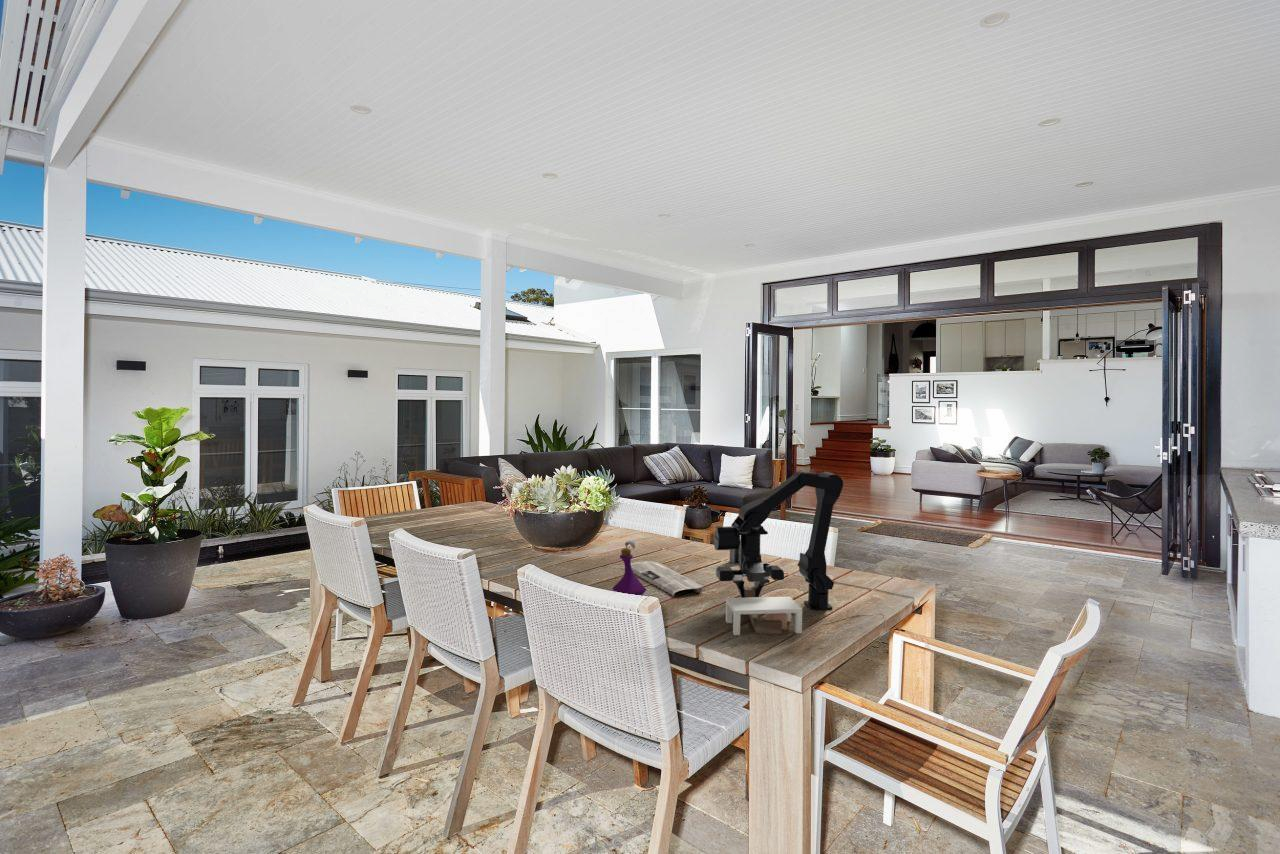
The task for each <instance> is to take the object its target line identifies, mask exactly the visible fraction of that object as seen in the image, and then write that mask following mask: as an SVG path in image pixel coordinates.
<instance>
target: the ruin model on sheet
mask: <svg viewBox="0 0 1280 854" xmlns="http://www.w3.org/2000/svg"><path fill="white" fill-rule="evenodd" d="M735 562H738V564H740V546H739V548H736V550H729V563H731V564H734V565H735Z"/></svg>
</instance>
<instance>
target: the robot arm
mask: <svg viewBox="0 0 1280 854" xmlns="http://www.w3.org/2000/svg"><path fill="white" fill-rule="evenodd" d="M804 487H809V488H815V489H814V490H815V491H814V492H815V497H816V507H815V512H814V518H813V521H812V522H813V523H812V527H811V533H810V538H809V544H808V548H807V550H806V551H805V553H803V552H800V553H799V560H798V563H797V567H798V571H799V573H800V574H801V576H802V577H804V580H805V582H806V583H808V591H807V592H808V593H807V594H808V595H807V596H808V597H807V600H804V601H803V603H804V604H805V605H806V606H807V607H808V608H809V609H810V610H833V606H832V605H831V604H830V603H829V592H830V591H829V590H833V588H834V585H835V581H833V580H832V579H831V578H830V576H828V575H827V559H826V554H825V553H826V548H827V547H826V546H827V543H828V541H827V540H828V536H829V530H830V527H831V519H832V514H833V510H834V506H835V504H836V502H837V501H838V500H839V498H840V496H841V493H842V491H843V488H844V480H843V479H842V477H841V476H840V475H838V474H834V473H832V472H829V471H822V472H820V473H815V472H808V471H807V472H806V471H802V470H797V471H795V472H794V473H793V474H792V475H791V476H790V477H788V478H787V479H786V480H784V481H783V482H782V483H781V484H779V485H777V486H776V487H775V488H773V489H772V490H771V491H769V492H768V493H767V494H765V495H764V496H763V497H760V498H758V499H755V500H752V501H750V502H748V503H746V504H744V505H742V506H741V507H740V508H739V510H738V516H736V518H735V519H734V521H733V522H732V523H731V525H729V526H723V525H716V527H715V531H714V535H713V546H714V550H715V551H730V550H736V548H739V546H740V563H738V565H739V566H738V567H739V569H732V567H731V566H727V565H724V566H717V568H716V569H715V576H716V577H717V579H718V580H719V582H732V583H733V584H735V585H736V588H737V591H738V593H739V596H740V597H739V598H745V596H744V587H745V581H744V580H743V577H746V579H747V581H748V582H749V583H754V584H753V585H754V586H753V587H754V588H755V597H760V595H761V591H762V589H763V588H764V586H765V585H767V584H768V583H769V584H770V582H771V581H770V579H769V578H771V579H772V580H773V581H783V580H784V579H785V572H784V570H783V569H782V568H781V567H780V566H778V565H773V564H772V563H771V562H767V563H766V562H763V561H762V554H761V536H762V535H768V534H769V532H768V531H767V530H765V528H764V526H763V525H762V524H763V523H764V522H765V521H766V520H767V519H768V518H769V517H770V515H771V513H772V512H773V510H774V509H776V508H778V507H779V506H780V505H782V504H783V503H784V502H785V501H787V500H788V499H789V498H791V497H792V496H794V495H795V494H796V493H797V492H799V491H800V490H801V489H803V488H804Z"/></svg>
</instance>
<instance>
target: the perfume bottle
mask: <svg viewBox="0 0 1280 854" xmlns="http://www.w3.org/2000/svg"><path fill="white" fill-rule="evenodd" d="M624 545H625V548H623V549H621V551H620V552H621V554H620V555H619V559H621V560H622V561H623V564H624V574H623V576H622V577H621V579H620V580H619V581H618V582H617V583H616V584H615V585H614V586H613V587H612V588H611V589H612V591H613V592H614V591H617V592H622V593H628V594H635V595H642V596H643V595H644V593H646V592H647V588H646V587H645V586H644V584H643V583H642V582H641V581H640V580H639V578H638V577H636V576H637V575H635V574H634V573H633V570H632V568H631V560H632V559H633V558H634V556H633V554H632V553H631V552H632V550H631V549H630V548H628V546H629V545H630V547H632V549H633V550H635V548H636V541H635V540H629V541H627V542H625V543H624Z"/></svg>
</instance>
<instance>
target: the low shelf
mask: <svg viewBox="0 0 1280 854" xmlns="http://www.w3.org/2000/svg"><path fill="white" fill-rule="evenodd" d="M770 613H786V614H787V623H788V622H792V614H794V625H793V626H794V627H793V630H794V631H793V632H795V634H803V608H802V607H801V605H799V603H797V602H796V601H795V600H794V599H793V598H792V597H791V596H759V597H748V598H741V597H726V598H725V623H726V622H727V623H726V624H732V634H733V635H734V636H741V615H748V614H758V615H762V614H763V615H764V614H767V615H768V614H770Z"/></svg>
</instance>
